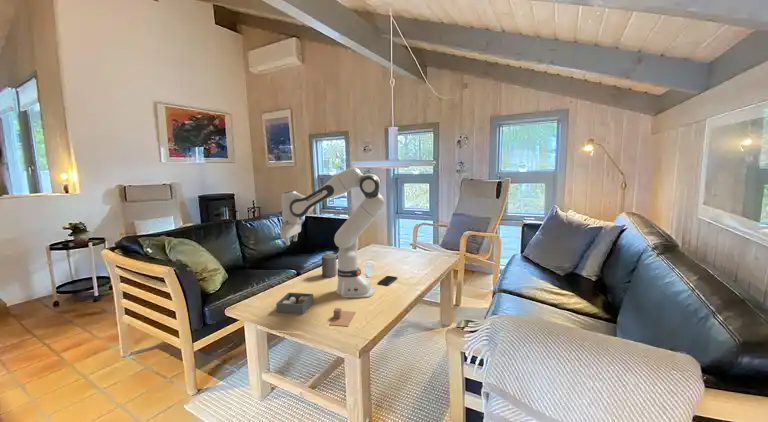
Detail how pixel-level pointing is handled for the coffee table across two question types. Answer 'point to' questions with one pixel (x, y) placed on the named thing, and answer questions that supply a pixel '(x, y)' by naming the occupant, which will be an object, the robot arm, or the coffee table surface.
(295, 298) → the off-white ball
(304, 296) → the birch cube
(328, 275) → the pillar candle
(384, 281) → the phone
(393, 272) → the coffee table surface
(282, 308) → the storage box
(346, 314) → the lid
